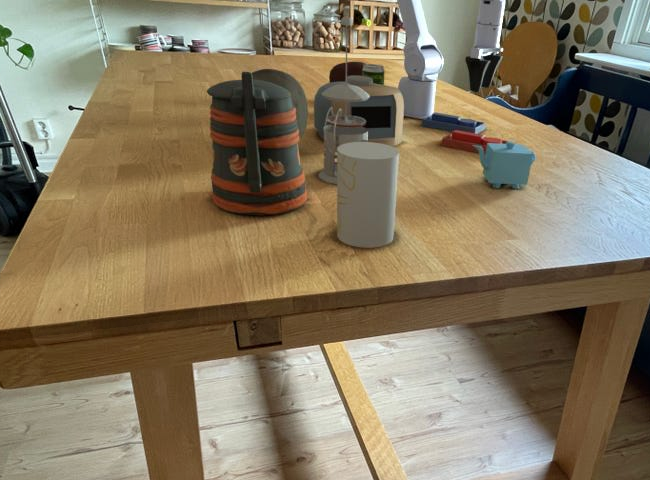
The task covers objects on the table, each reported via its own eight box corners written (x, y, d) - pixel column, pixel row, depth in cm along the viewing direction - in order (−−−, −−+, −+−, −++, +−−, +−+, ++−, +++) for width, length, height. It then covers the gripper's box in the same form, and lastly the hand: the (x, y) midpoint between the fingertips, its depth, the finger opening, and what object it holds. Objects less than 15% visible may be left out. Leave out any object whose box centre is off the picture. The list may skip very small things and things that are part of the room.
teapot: (470, 187, 101) (476, 144, 96) (464, 176, 106) (470, 135, 101) (533, 190, 102) (542, 148, 97) (525, 179, 107) (533, 139, 102)
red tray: (441, 145, 123) (442, 138, 122) (454, 138, 129) (454, 131, 128) (501, 157, 119) (502, 149, 118) (511, 149, 125) (512, 141, 124)
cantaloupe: (223, 151, 108) (213, 66, 100) (281, 141, 117) (277, 62, 108) (266, 169, 101) (260, 79, 92) (325, 157, 110) (324, 73, 101)
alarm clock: (331, 151, 114) (331, 86, 107) (304, 127, 128) (302, 69, 121) (414, 147, 121) (419, 86, 114) (380, 124, 135) (382, 69, 128)
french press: (379, 173, 104) (386, 17, 89) (355, 191, 95) (359, 21, 80) (332, 164, 106) (331, 11, 91) (304, 181, 97) (298, 15, 82)
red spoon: (449, 142, 124) (450, 132, 123) (456, 138, 127) (457, 128, 126) (497, 152, 120) (499, 141, 119) (503, 147, 124) (505, 137, 122)
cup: (337, 224, 82) (337, 140, 75) (391, 225, 83) (396, 143, 76) (336, 246, 76) (337, 157, 69) (395, 248, 77) (401, 160, 70)
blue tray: (421, 125, 137) (422, 119, 136) (433, 120, 143) (434, 113, 142) (474, 135, 133) (475, 128, 132) (484, 129, 139) (485, 122, 138)
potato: (334, 97, 159) (333, 56, 153) (379, 101, 158) (380, 61, 152) (324, 104, 150) (323, 61, 144) (372, 109, 149) (373, 66, 143)
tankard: (318, 227, 81) (315, 76, 69) (213, 232, 77) (191, 73, 65) (300, 184, 95) (296, 54, 84) (212, 186, 92) (194, 50, 80)
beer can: (386, 120, 140) (389, 67, 133) (369, 122, 137) (371, 68, 130) (373, 115, 143) (375, 63, 136) (356, 117, 140) (358, 64, 133)
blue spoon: (429, 123, 138) (430, 114, 137) (436, 120, 141) (436, 111, 140) (472, 131, 134) (473, 121, 133) (478, 128, 138) (479, 118, 136)
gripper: (496, 27, 119) (485, 95, 127) (515, 24, 130) (504, 87, 138) (465, 24, 122) (457, 91, 130) (486, 21, 132) (478, 83, 140)
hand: (480, 89), depth 134 cm, fingers open, 7 cm apart
